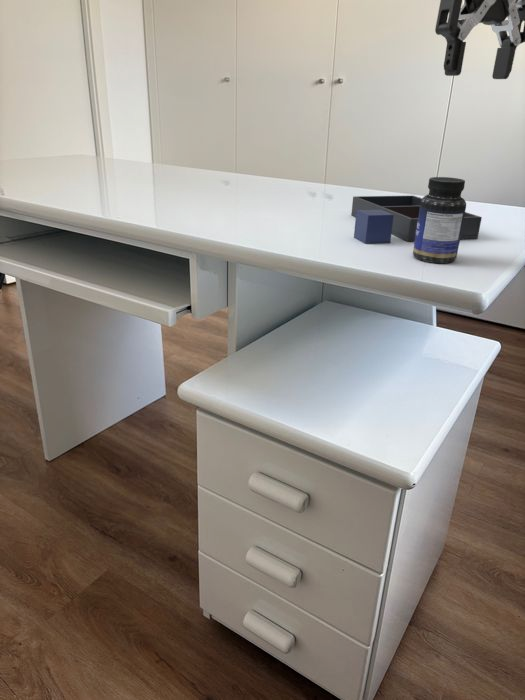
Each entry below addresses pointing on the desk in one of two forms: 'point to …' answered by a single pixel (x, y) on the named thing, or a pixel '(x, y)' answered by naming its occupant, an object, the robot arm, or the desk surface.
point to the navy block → (373, 226)
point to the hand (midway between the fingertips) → (476, 77)
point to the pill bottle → (440, 221)
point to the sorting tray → (409, 215)
